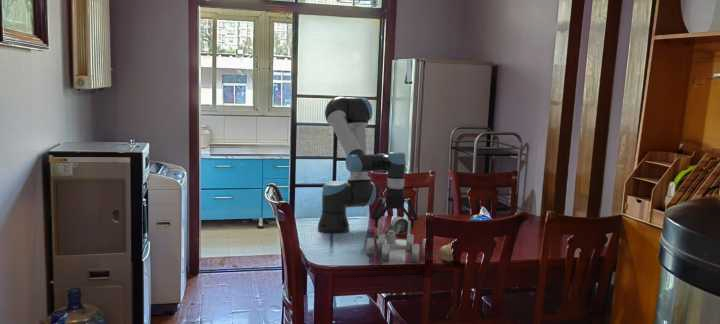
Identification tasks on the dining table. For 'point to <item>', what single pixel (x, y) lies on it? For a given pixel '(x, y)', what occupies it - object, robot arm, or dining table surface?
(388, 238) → the lighter
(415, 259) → the spacer posts
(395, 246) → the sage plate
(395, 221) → the ceramic mug
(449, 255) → the onion
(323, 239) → the dining table surface
